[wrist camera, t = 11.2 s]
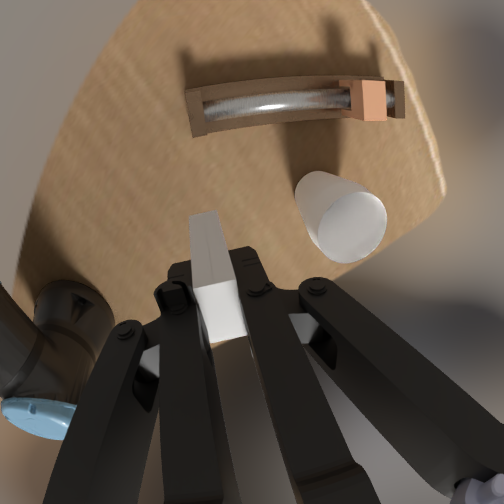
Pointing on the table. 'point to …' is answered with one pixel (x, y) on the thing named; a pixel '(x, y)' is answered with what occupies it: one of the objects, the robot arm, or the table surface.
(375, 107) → the tan block
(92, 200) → the table surface
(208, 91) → the wooden rod stand
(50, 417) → the robot arm
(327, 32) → the table surface
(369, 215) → the cup
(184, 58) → the table surface
